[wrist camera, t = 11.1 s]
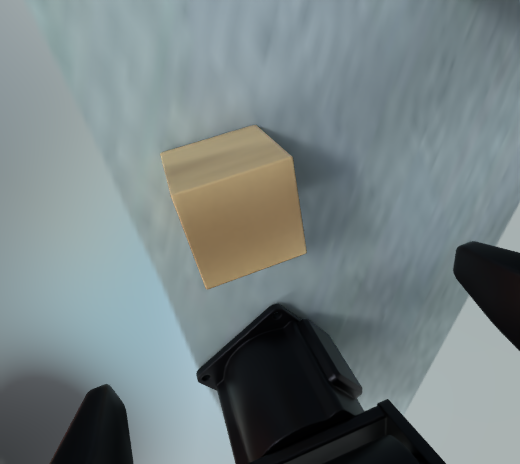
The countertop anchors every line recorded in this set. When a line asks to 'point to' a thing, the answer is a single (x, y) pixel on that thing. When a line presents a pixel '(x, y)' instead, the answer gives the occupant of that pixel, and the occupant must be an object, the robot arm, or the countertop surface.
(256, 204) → the block
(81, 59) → the countertop surface
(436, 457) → the robot arm
